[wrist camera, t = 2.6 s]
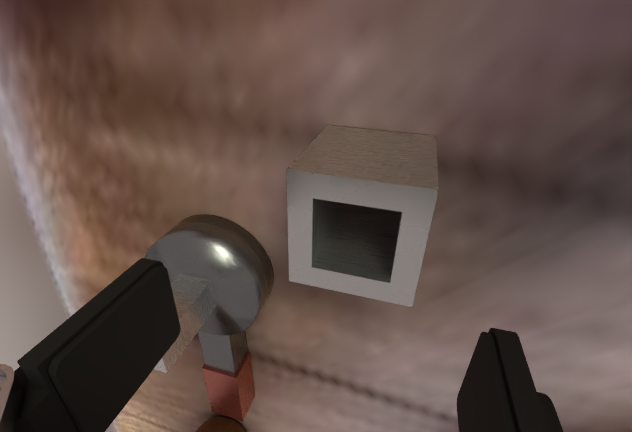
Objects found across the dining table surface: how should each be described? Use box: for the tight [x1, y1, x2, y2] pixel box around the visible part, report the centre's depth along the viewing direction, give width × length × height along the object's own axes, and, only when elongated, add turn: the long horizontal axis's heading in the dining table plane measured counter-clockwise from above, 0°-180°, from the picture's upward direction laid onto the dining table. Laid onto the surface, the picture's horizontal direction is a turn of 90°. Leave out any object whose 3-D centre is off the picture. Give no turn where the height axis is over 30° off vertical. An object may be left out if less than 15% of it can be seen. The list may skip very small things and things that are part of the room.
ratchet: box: [145, 214, 274, 421], centre depth 24 cm, size 8×19×8 cm, turn 179°
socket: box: [286, 125, 439, 307], centre depth 15 cm, size 5×5×6 cm
